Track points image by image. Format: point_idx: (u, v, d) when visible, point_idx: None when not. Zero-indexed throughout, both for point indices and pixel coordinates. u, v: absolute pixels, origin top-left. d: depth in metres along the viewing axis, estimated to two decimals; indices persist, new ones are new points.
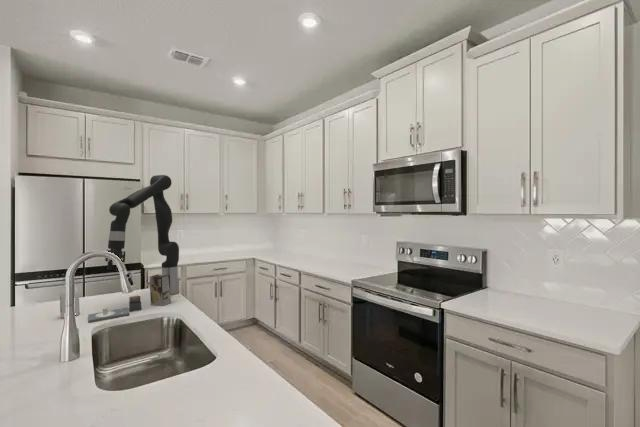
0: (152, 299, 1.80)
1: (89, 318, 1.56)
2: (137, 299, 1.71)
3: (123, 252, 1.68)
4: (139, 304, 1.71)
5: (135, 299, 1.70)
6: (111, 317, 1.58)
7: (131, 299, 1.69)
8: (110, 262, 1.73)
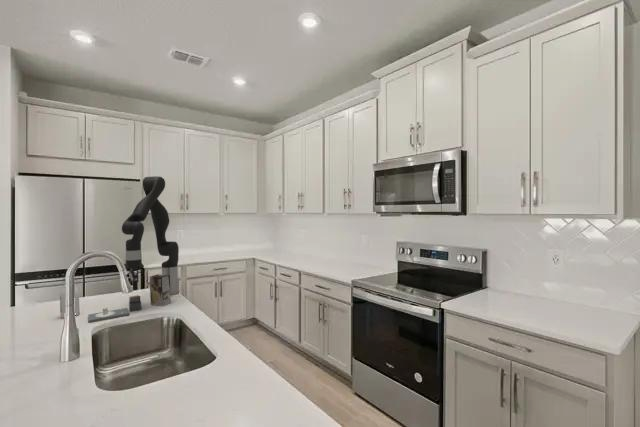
0: (152, 299, 1.80)
1: (89, 318, 1.56)
2: (137, 299, 1.71)
3: (135, 272, 1.66)
4: (139, 304, 1.71)
5: (135, 299, 1.70)
6: (111, 317, 1.58)
7: (131, 299, 1.69)
8: None
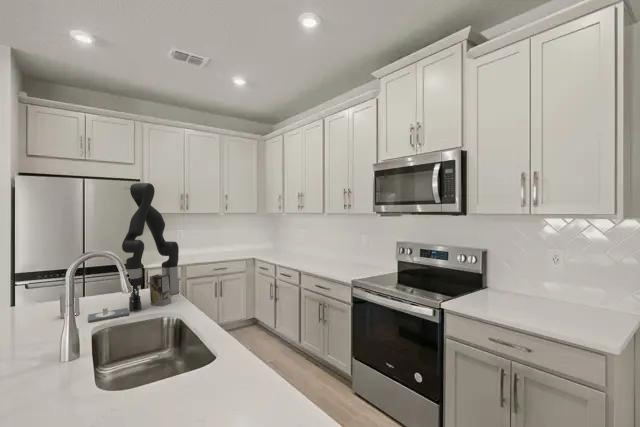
0: (152, 299, 1.80)
1: (89, 318, 1.56)
2: None
3: (136, 293, 1.67)
4: (139, 304, 1.71)
5: (135, 299, 1.70)
6: (111, 317, 1.58)
7: (131, 299, 1.69)
8: None
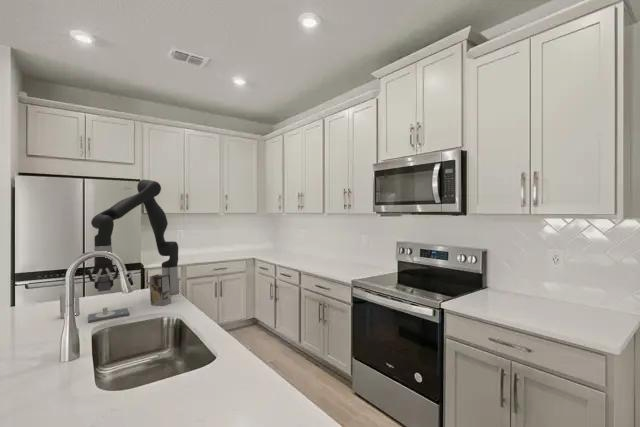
0: (152, 299, 1.80)
1: (89, 318, 1.56)
2: (98, 279, 1.59)
3: (87, 271, 1.57)
4: None
5: None
6: (111, 317, 1.58)
7: None
8: (110, 279, 1.62)
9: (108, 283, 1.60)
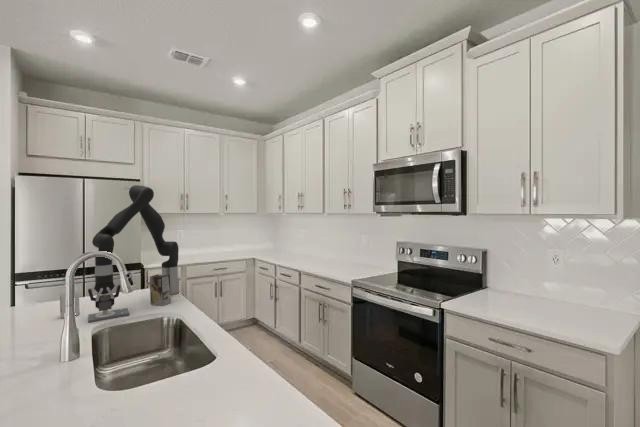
0: (152, 299, 1.80)
1: (89, 318, 1.56)
2: (99, 298, 1.59)
3: (88, 290, 1.57)
4: None
5: None
6: (111, 317, 1.58)
7: None
8: (111, 298, 1.63)
9: (109, 302, 1.60)
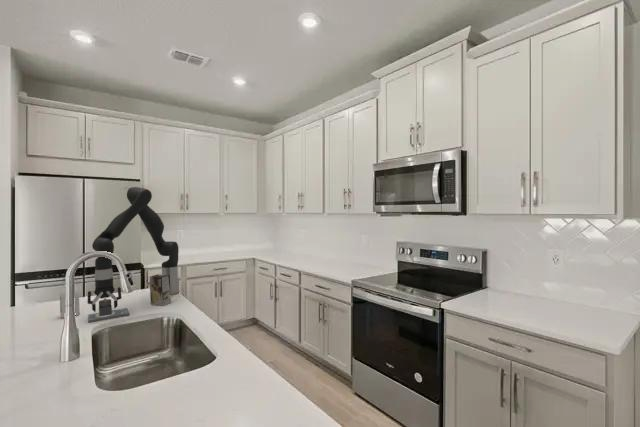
0: (152, 299, 1.80)
1: (89, 318, 1.56)
2: (99, 303, 1.59)
3: None
4: (99, 310, 1.58)
5: None
6: (111, 317, 1.58)
7: None
8: (114, 300, 1.63)
9: (109, 307, 1.60)
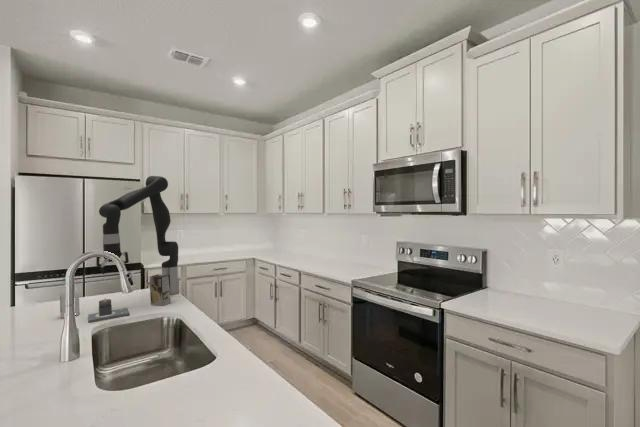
0: (152, 299, 1.80)
1: (89, 318, 1.56)
2: (99, 303, 1.59)
3: None
4: (99, 310, 1.58)
5: None
6: (111, 317, 1.58)
7: None
8: None
9: (109, 307, 1.60)
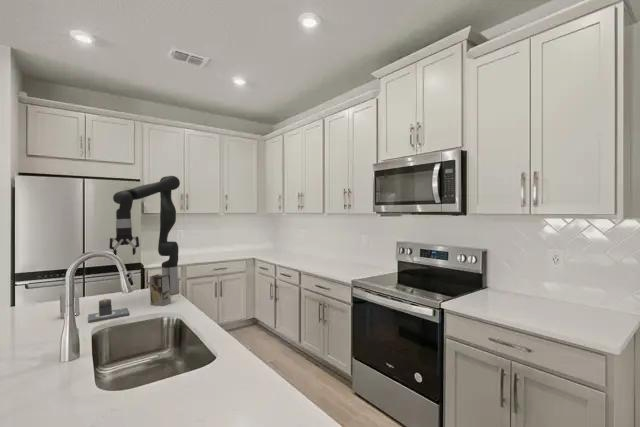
0: (152, 299, 1.80)
1: (89, 318, 1.56)
2: (99, 303, 1.59)
3: None
4: (99, 310, 1.58)
5: None
6: (111, 317, 1.58)
7: None
8: (132, 248, 1.82)
9: (109, 307, 1.60)
